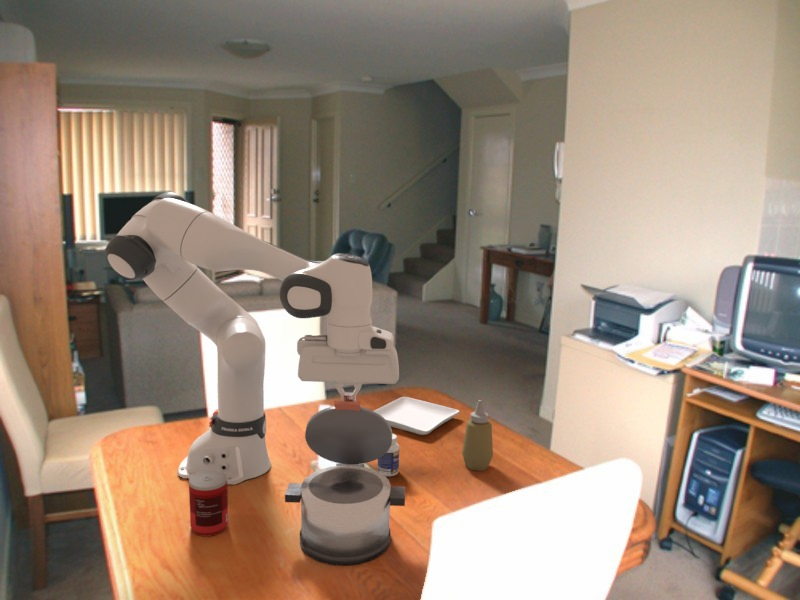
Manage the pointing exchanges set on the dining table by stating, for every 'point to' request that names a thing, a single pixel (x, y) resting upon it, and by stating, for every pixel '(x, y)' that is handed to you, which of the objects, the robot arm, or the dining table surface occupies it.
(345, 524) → the cooker pot
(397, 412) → the salad plate
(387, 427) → the cooker lid
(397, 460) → the pill bottle
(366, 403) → the dining table surface
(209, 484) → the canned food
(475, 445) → the squeeze bottle
